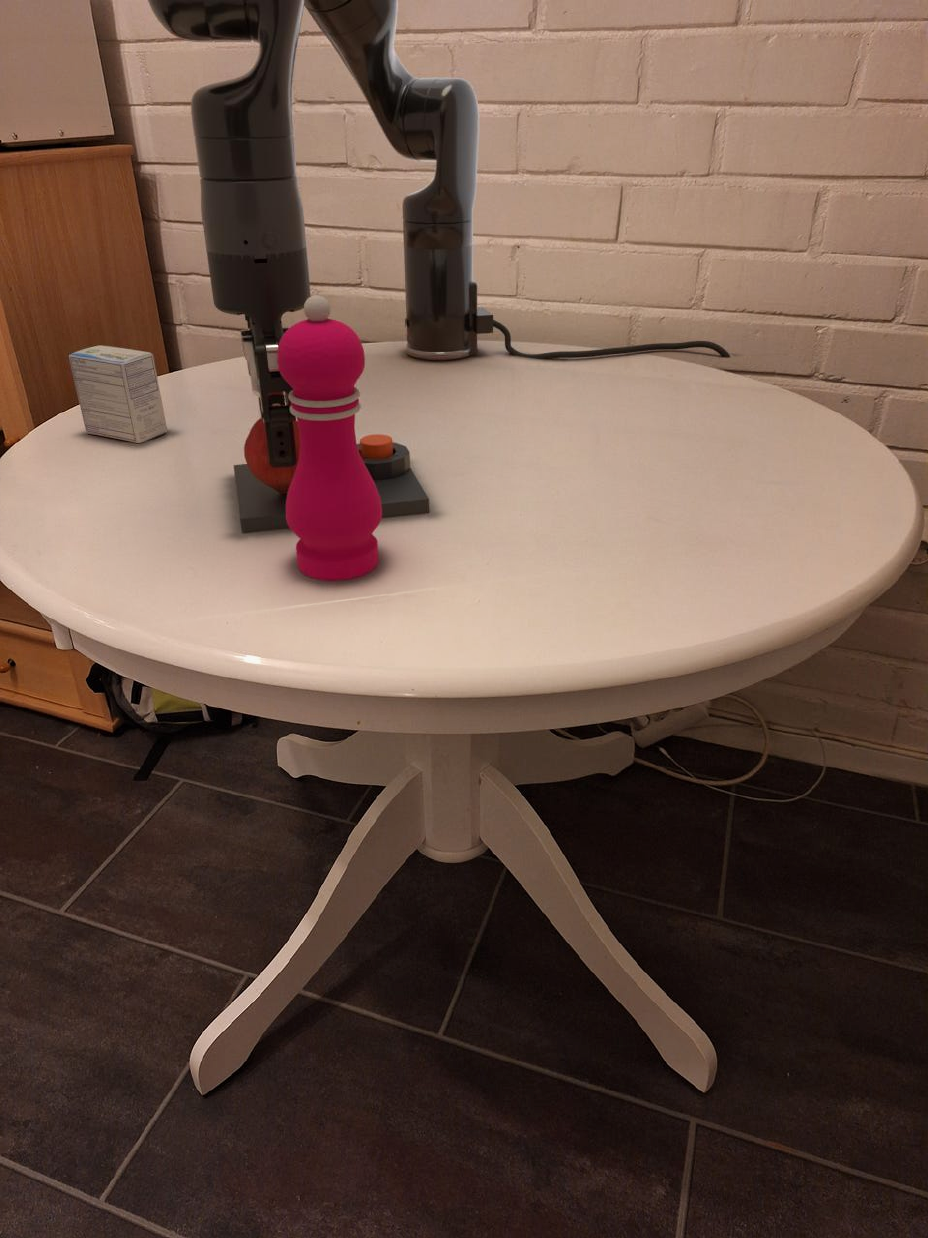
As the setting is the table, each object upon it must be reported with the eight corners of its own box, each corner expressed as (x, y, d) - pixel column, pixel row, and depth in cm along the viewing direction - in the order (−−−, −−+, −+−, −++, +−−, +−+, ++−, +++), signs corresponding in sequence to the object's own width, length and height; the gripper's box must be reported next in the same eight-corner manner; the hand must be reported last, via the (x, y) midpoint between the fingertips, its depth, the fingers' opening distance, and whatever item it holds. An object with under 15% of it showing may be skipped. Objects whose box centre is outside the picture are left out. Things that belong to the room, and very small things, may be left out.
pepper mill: (301, 542, 74) (273, 285, 64) (389, 543, 74) (376, 285, 64) (283, 584, 68) (249, 306, 58) (379, 585, 68) (362, 306, 57)
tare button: (389, 448, 86) (389, 432, 85) (395, 459, 83) (395, 443, 82) (358, 451, 85) (357, 435, 84) (363, 462, 83) (362, 446, 82)
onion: (236, 498, 79) (223, 407, 75) (277, 476, 83) (267, 389, 79) (290, 510, 76) (280, 417, 72) (330, 487, 81) (322, 398, 77)
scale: (400, 462, 90) (399, 433, 88) (429, 513, 79) (428, 481, 77) (235, 478, 86) (231, 448, 85) (242, 534, 75) (237, 500, 74)
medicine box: (169, 433, 98) (155, 351, 94) (138, 445, 95) (122, 361, 90) (116, 422, 101) (100, 343, 97) (84, 434, 98) (66, 352, 94)
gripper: (204, 232, 74) (231, 428, 83) (207, 259, 62) (238, 485, 71) (296, 229, 76) (313, 421, 84) (316, 254, 64) (334, 475, 72)
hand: (279, 449), depth 77 cm, fingers open, 7 cm apart
